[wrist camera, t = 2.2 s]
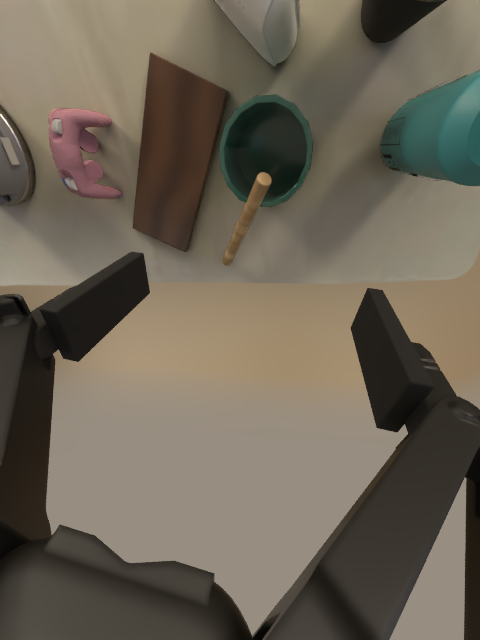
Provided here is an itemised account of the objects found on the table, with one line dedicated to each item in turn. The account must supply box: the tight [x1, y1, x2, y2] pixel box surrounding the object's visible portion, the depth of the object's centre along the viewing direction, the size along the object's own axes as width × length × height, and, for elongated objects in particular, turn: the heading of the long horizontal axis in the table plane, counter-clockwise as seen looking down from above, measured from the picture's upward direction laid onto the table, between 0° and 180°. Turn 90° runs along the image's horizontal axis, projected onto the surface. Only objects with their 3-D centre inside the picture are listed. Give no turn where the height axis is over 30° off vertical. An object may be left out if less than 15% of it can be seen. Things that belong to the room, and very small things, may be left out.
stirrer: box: [222, 172, 272, 266], centre depth 30 cm, size 1×13×13 cm
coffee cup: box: [219, 95, 313, 207], centre depth 27 cm, size 9×9×8 cm
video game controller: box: [49, 108, 122, 199], centre depth 32 cm, size 10×5×7 cm, turn 172°
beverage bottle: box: [380, 70, 480, 186], centre depth 19 cm, size 6×7×20 cm
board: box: [133, 53, 229, 252], centre depth 33 cm, size 9×20×1 cm, turn 158°
